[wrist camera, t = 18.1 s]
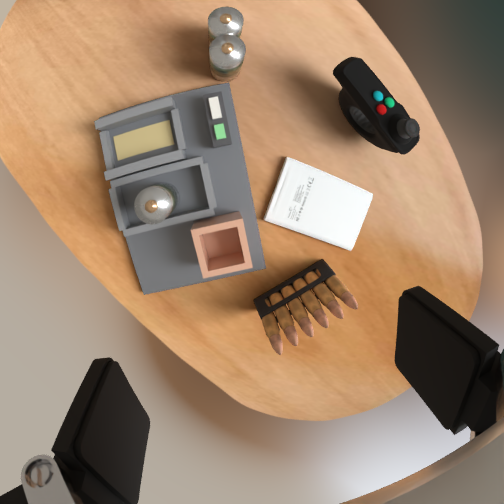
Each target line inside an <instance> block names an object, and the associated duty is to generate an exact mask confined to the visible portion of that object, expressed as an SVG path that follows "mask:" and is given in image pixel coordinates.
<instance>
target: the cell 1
mask: <svg viewBox="0 0 504 504" xmlns="http://www.w3.org/2000/svg"><path fill="white" fill-rule="evenodd" d="M179 200H180V195H179V192H178V190H177V188H176V187H175V186H174V185H172V184H170V183H160V184H156V185H153V186H150V187H148V188H145V189H143V190H142V191H141V192H140V193H139V194H138V195H137V197H136V199H135V203H134V208H135V212H136V215H137V216H138V218H139V219H140V220H141V221H143V222H144V223H147V224H158V223H160V222H162V221H164V220H165V219H166V218H167V217H168V216H169V215H170V214H171V213H172V212H173V211H174V209H175V208H176V207H177V206H178V204H179Z"/></svg>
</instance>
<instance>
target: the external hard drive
mask: <svg viewBox="0 0 504 504" xmlns="http://www.w3.org/2000/svg"><path fill="white" fill-rule="evenodd" d="M372 197H373V194H372V193H370V192H368V191H366V190H364V189H362V188H360V187H357V186H355V185H353V184H351V183H349V182H347V181H344V180H342V179H340V178H338V177H335V176H333V175H331V174H328V173H326V172H324V171H321V170H319V169H317V168H314V167H312V166H309V165H307V164H304V163H302V162H300V161H297V160H294V159H292V158H289V157H286V158H285V161H284V164H283V167H282V170H281V172H280V175H279V178H278V180H277V185H276V187H275V190H274V193H273V194H272V197H271V200H270V202H269V205H268V208H267V210H266V213H265V216H264V220H265V221H268V222H271V223H274V224H276V225H279V226H282V227H285V228H288V229H291V230H294V231H296V232H299V233H302V234H305V235H308V236H311V237H313V238H316V239H319V240H322V241H325V242H327V243H330V244H333V245H336V246H339V247H341V248H344V249H347V250H349V251H351V250H352V248H353V246H354V244H355V241H356V239H357V236H358V234H359V231H360V229H361V226H362V224H363V221H364V219H365V216H366V214H367V211H368V208H369V206H370V203H371V200H372Z"/></svg>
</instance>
